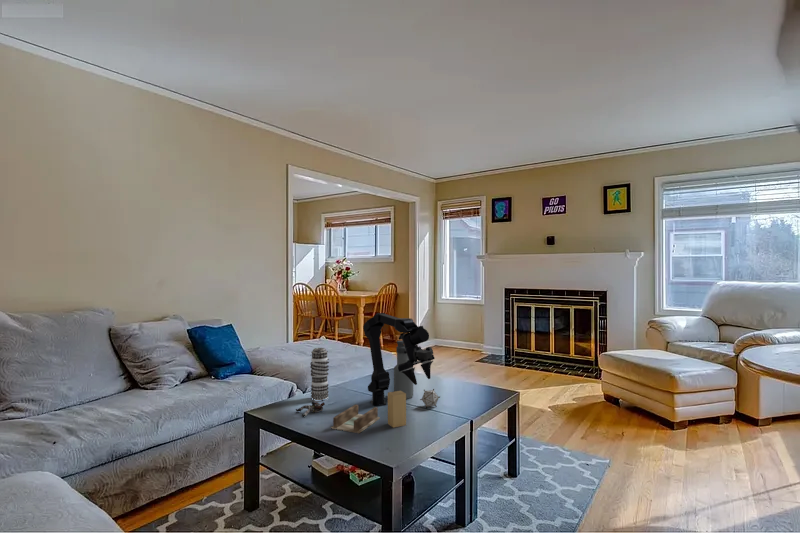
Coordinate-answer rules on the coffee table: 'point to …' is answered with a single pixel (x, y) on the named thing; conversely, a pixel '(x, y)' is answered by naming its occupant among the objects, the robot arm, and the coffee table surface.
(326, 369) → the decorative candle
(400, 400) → the pillar
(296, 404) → the coffee table surface
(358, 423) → the brown open-ended tray
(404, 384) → the water bottle
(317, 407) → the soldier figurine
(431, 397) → the game die
